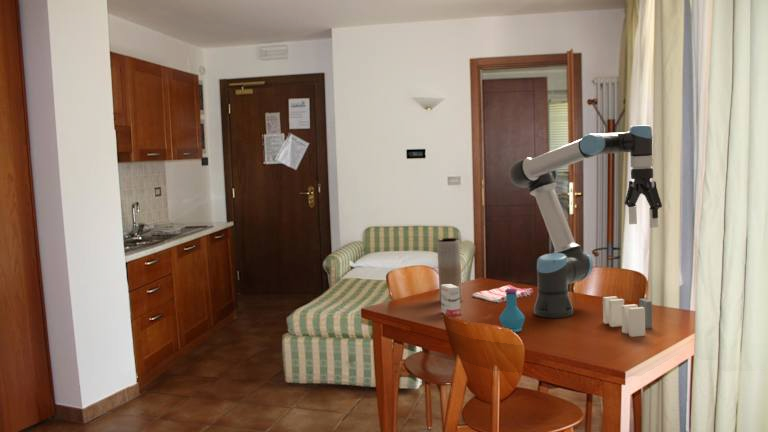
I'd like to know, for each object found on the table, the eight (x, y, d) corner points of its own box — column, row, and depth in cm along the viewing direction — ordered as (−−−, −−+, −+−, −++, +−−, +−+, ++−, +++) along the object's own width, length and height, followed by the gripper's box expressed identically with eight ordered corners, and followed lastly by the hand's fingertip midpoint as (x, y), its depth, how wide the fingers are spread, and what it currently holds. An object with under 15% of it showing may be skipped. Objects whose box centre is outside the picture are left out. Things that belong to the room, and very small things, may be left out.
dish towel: (534, 295, 294) (534, 287, 294) (497, 304, 281) (497, 296, 281) (507, 290, 308) (507, 282, 308) (471, 298, 295) (470, 290, 294)
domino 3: (647, 328, 231) (646, 301, 230) (639, 324, 236) (639, 298, 235) (651, 327, 231) (651, 301, 230) (644, 324, 236) (643, 298, 235)
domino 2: (638, 332, 227) (637, 305, 226) (624, 333, 226) (624, 306, 225) (635, 330, 229) (634, 304, 228) (622, 332, 228) (621, 305, 227)
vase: (449, 298, 296) (446, 237, 293) (466, 300, 289) (464, 238, 286) (435, 302, 289) (432, 240, 286) (452, 305, 282) (449, 241, 279)
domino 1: (624, 325, 236) (624, 299, 235) (611, 326, 235) (611, 300, 234) (622, 324, 238) (621, 298, 237) (609, 325, 237) (608, 299, 236)
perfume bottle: (520, 334, 232) (518, 292, 231) (496, 331, 237) (494, 291, 236) (528, 327, 240) (527, 287, 239) (505, 325, 245) (503, 286, 244)
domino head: (618, 322, 240) (617, 297, 239) (605, 323, 239) (605, 298, 239) (615, 321, 242) (615, 296, 241) (603, 322, 241) (602, 297, 240)
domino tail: (645, 335, 223) (644, 307, 222) (631, 336, 222) (631, 309, 221) (642, 334, 224) (641, 306, 223) (629, 335, 224) (628, 308, 223)
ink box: (461, 315, 264) (460, 286, 263) (450, 316, 262) (448, 288, 261) (452, 310, 272) (450, 283, 271) (441, 312, 270) (439, 284, 269)
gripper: (671, 167, 225) (673, 228, 227) (632, 167, 250) (633, 222, 252) (652, 168, 224) (653, 229, 226) (614, 168, 249) (615, 223, 250)
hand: (643, 225), depth 239 cm, fingers open, 13 cm apart
